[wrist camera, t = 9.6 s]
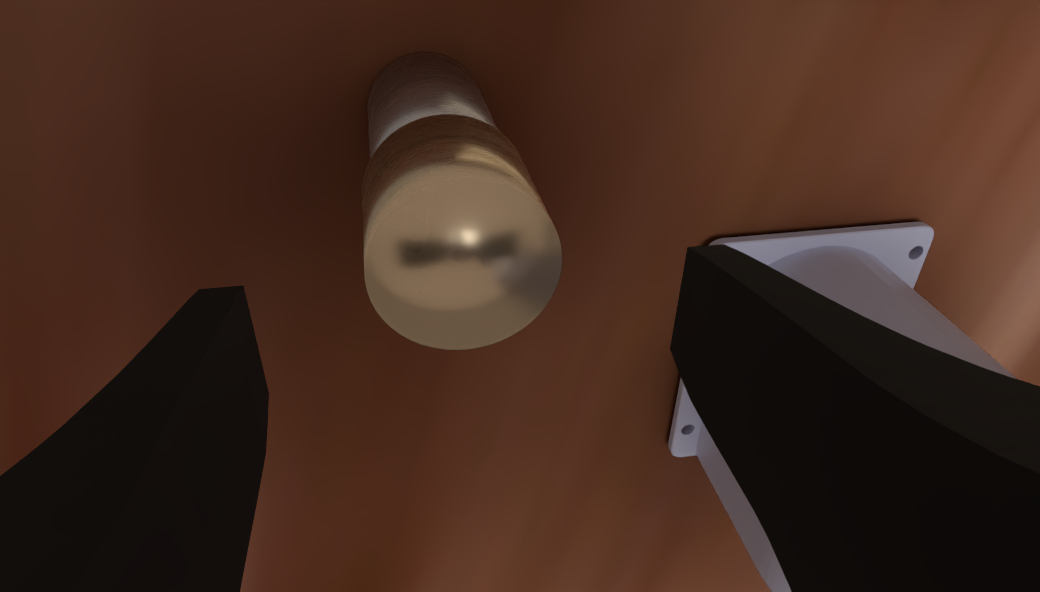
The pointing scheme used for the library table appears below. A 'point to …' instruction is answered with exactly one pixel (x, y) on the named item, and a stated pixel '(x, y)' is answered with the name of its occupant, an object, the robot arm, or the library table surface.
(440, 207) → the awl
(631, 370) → the library table surface
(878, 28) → the library table surface
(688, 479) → the library table surface
